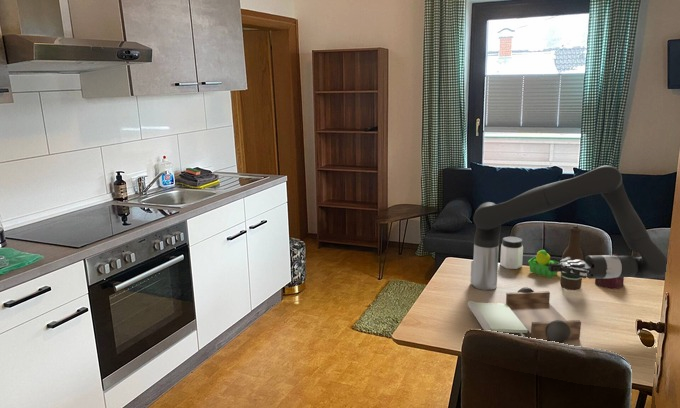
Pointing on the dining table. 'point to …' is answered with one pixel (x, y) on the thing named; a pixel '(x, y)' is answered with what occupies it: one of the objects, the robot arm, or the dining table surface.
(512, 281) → the dining table surface
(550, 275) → the fruit basket
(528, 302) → the cart bed
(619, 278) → the vegetable
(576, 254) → the beer bottle
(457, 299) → the dining table surface
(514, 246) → the jar
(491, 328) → the tailgate
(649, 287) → the dining table surface
